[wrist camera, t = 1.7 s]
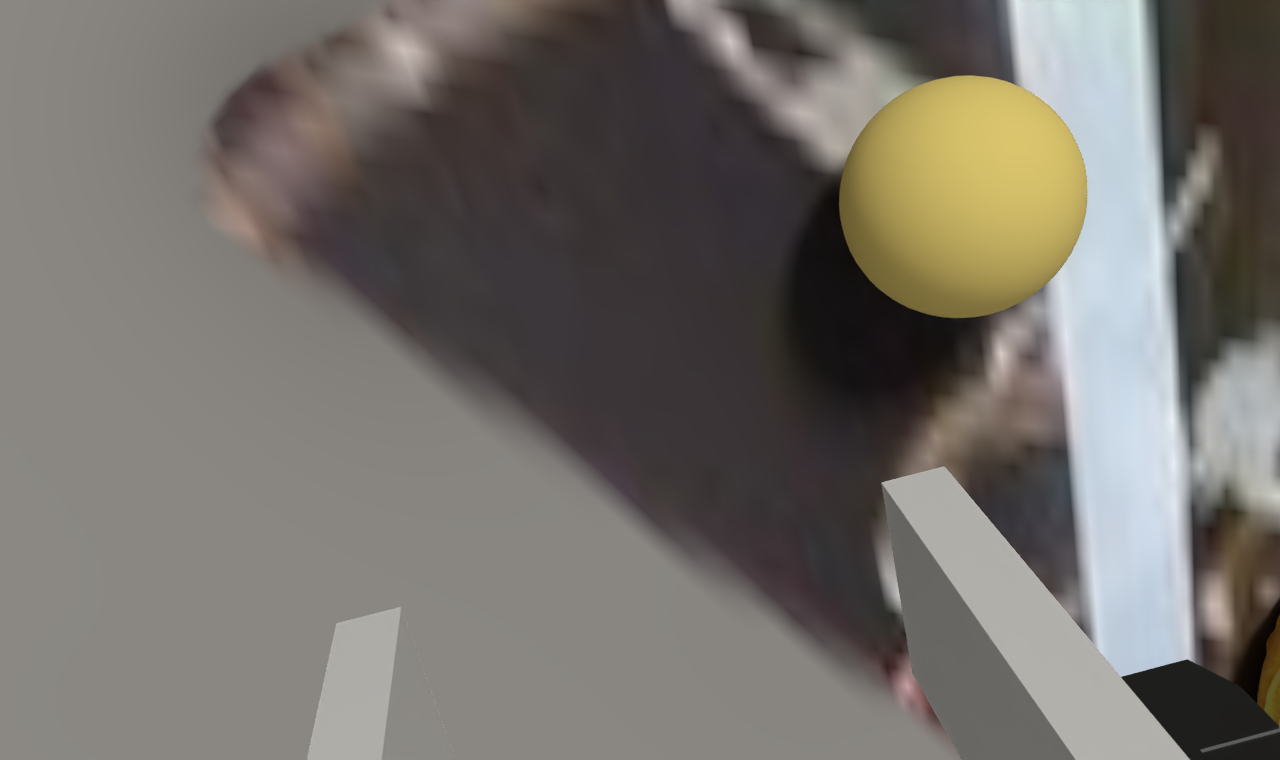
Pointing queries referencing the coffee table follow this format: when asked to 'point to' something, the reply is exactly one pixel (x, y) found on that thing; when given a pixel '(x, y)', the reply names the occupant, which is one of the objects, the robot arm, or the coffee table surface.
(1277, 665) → the decorated donut
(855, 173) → the yellow ball
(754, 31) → the coffee table surface
